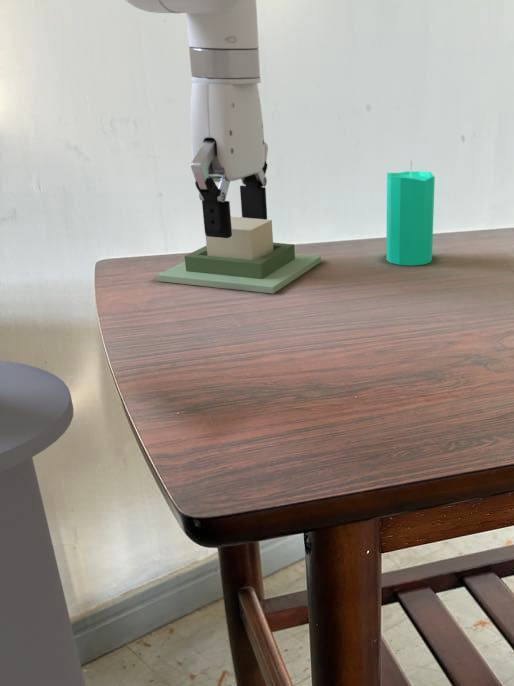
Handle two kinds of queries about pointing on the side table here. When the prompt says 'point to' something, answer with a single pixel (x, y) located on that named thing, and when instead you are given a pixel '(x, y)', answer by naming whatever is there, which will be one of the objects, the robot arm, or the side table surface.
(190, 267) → the base pad
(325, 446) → the side table surface
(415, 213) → the candle
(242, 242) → the beige cube block
